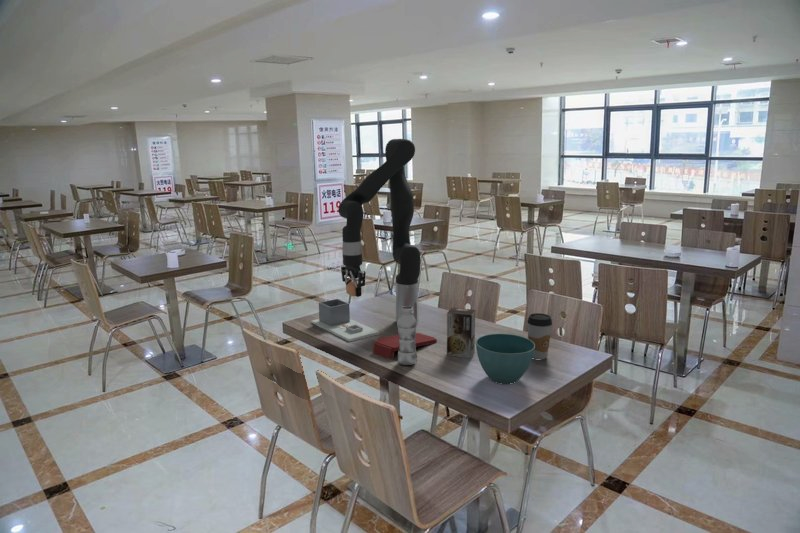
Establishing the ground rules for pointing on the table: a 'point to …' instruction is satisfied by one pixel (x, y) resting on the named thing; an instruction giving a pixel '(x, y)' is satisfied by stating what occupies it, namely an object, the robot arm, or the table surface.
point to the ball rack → (341, 321)
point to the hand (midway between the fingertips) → (353, 294)
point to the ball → (351, 288)
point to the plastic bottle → (407, 337)
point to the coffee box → (461, 332)
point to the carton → (391, 344)
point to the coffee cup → (539, 333)
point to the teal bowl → (505, 356)
